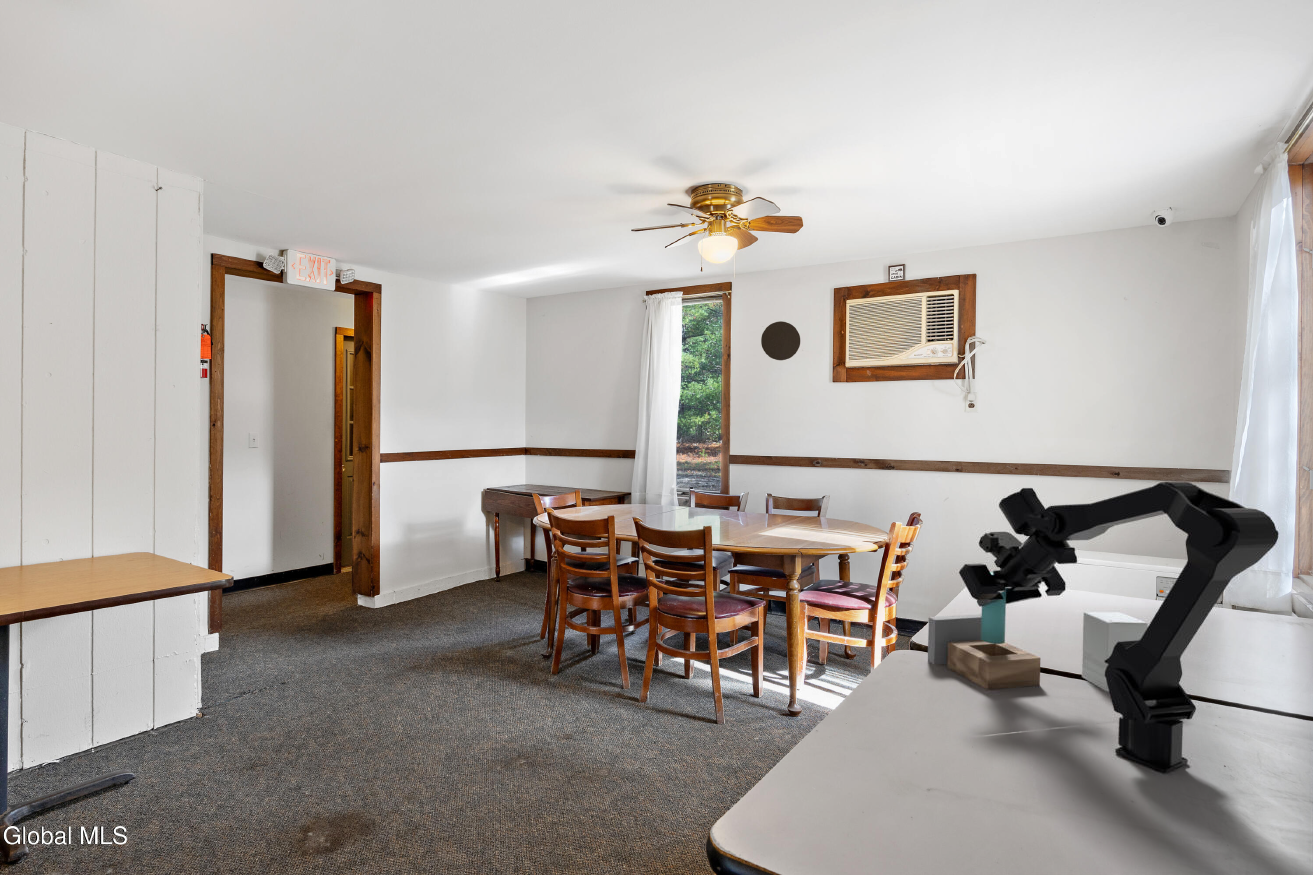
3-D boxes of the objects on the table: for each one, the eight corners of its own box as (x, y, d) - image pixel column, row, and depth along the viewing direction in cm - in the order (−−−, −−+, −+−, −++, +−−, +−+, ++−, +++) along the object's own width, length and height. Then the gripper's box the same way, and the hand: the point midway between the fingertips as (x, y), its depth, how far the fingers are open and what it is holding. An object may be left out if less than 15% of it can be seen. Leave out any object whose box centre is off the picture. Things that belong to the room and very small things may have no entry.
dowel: (1007, 644, 124) (1009, 577, 124) (984, 642, 125) (985, 575, 125) (1001, 638, 128) (1002, 572, 128) (978, 636, 129) (980, 571, 129)
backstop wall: (995, 660, 136) (996, 616, 135) (934, 665, 132) (935, 619, 132) (988, 657, 138) (989, 613, 137) (927, 662, 134) (928, 617, 134)
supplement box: (1147, 693, 120) (1149, 623, 120) (1105, 692, 120) (1107, 622, 120) (1120, 678, 127) (1122, 611, 127) (1080, 677, 128) (1082, 610, 127)
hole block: (1039, 685, 123) (1040, 657, 123) (987, 689, 120) (988, 661, 120) (995, 663, 133) (996, 638, 133) (947, 667, 131) (948, 642, 131)
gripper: (1054, 518, 125) (1008, 565, 135) (967, 520, 120) (927, 569, 131) (1090, 570, 117) (1038, 615, 128) (998, 573, 113) (953, 620, 124)
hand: (988, 603), depth 128 cm, fingers closed on dowel, 4 cm apart
